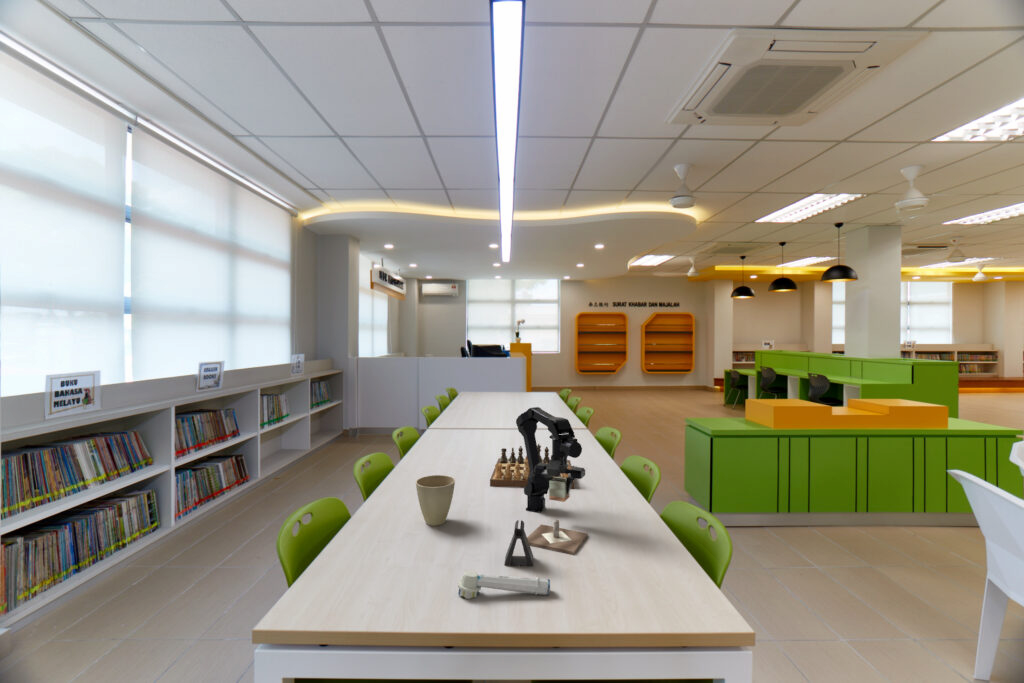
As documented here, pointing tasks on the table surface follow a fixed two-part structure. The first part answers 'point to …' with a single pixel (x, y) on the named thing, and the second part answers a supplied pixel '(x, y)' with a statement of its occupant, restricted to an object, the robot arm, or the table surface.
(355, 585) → the table surface
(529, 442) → the robot arm
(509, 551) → the phone stand
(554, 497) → the sleeve
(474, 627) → the table surface
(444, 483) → the plant pot
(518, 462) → the chess set
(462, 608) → the table surface
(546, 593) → the toothbrush head
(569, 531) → the pin board
